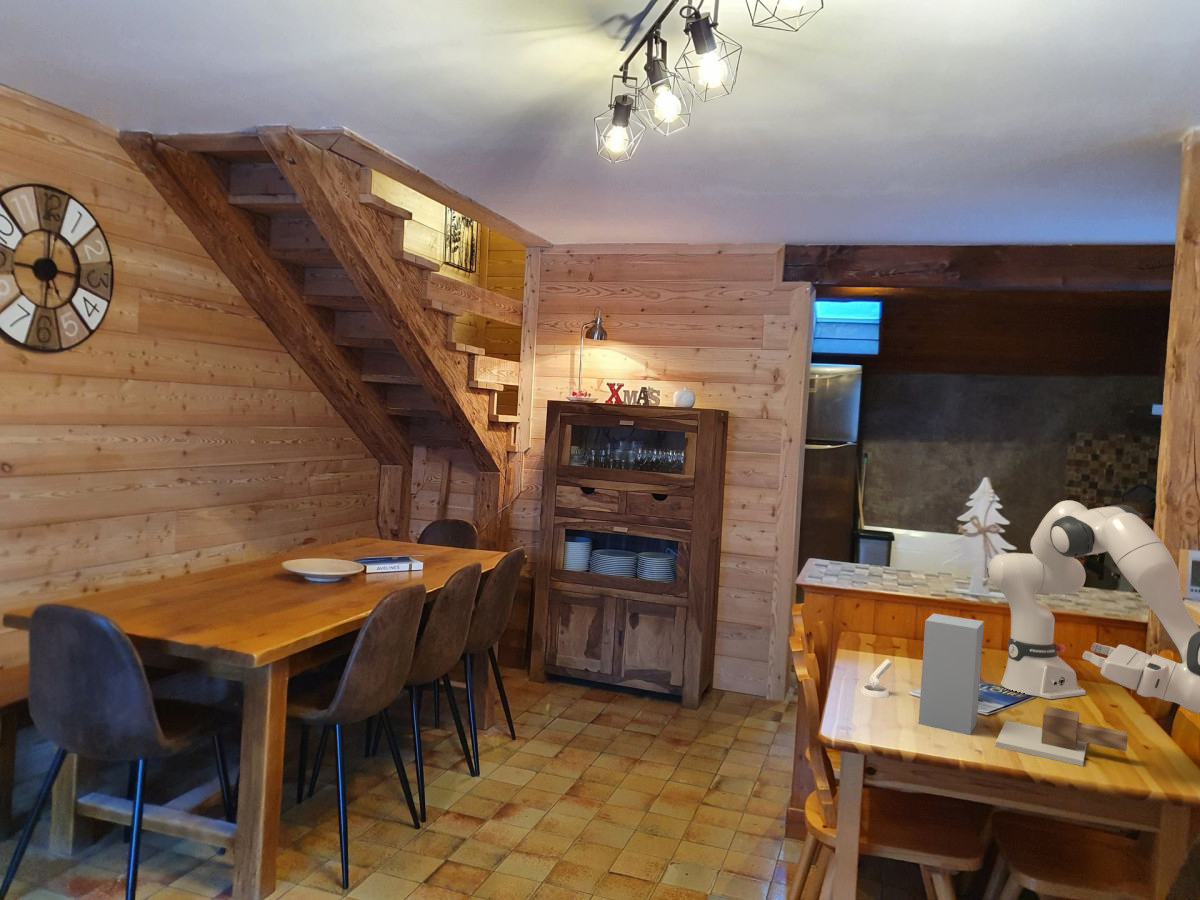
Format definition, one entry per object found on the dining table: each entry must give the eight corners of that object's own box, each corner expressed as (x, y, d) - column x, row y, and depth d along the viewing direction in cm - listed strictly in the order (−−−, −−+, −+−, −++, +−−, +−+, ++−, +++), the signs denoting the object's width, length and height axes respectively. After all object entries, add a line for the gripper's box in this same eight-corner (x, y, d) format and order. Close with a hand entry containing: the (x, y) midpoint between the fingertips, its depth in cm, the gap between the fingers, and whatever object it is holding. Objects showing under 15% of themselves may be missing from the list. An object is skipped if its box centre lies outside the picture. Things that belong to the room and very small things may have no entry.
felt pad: (1087, 742, 211) (1087, 737, 211) (1082, 766, 196) (1083, 760, 196) (1005, 725, 220) (1005, 720, 220) (995, 746, 205) (995, 741, 205)
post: (976, 723, 221) (983, 621, 219) (970, 734, 212) (977, 628, 211) (926, 712, 227) (933, 613, 226) (918, 723, 218) (925, 620, 217)
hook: (912, 681, 237) (894, 667, 235) (882, 713, 239) (864, 699, 237) (900, 667, 244) (883, 653, 242) (871, 698, 246) (854, 685, 244)
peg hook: (1126, 752, 202) (1128, 722, 202) (1125, 761, 196) (1128, 730, 196) (1044, 734, 211) (1046, 706, 211) (1041, 743, 205) (1043, 713, 205)
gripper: (1166, 653, 203) (1100, 629, 211) (1153, 672, 187) (1082, 645, 195) (1157, 678, 204) (1092, 653, 212) (1143, 699, 188) (1074, 671, 196)
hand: (1087, 649), depth 204 cm, fingers open, 8 cm apart
